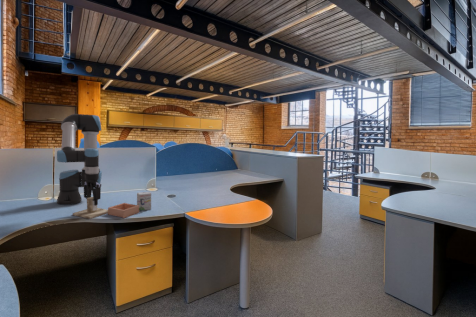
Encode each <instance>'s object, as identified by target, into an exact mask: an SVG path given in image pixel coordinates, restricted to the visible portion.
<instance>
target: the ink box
mask: <svg viewBox="0 0 476 317" xmlns="http://www.w3.org/2000/svg"><path fill="white" fill-rule="evenodd" d="M136 205H139V211H150V210H152V192H150V191H142V192H137V193H136Z"/></svg>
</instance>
